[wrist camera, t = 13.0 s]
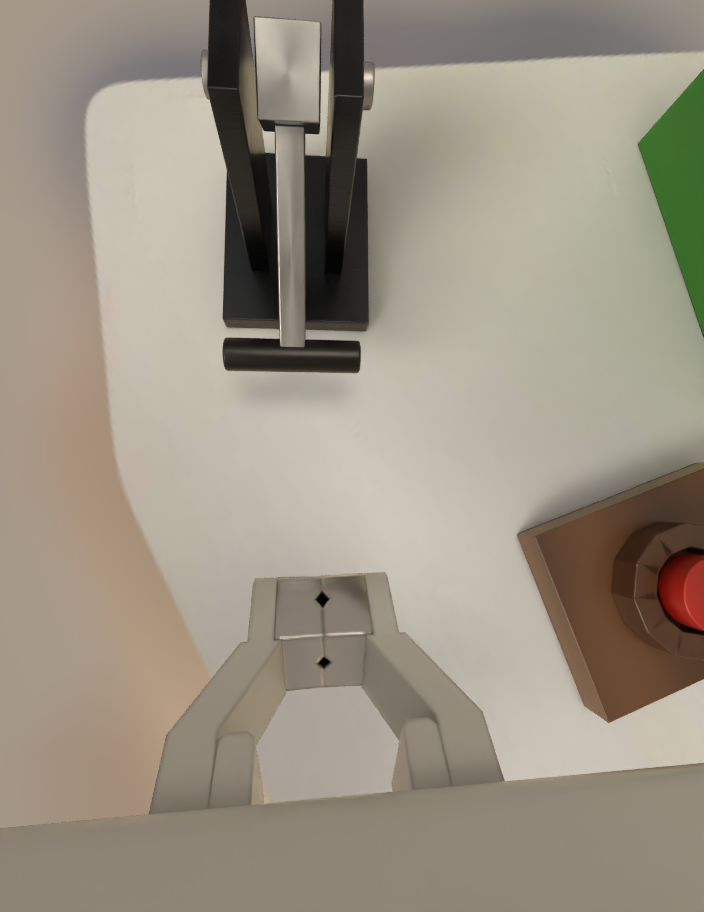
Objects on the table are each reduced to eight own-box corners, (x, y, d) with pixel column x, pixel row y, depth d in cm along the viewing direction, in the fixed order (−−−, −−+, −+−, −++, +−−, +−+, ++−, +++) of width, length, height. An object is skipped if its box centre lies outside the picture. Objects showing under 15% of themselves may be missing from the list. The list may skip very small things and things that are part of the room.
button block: (584, 706, 26) (632, 740, 23) (516, 534, 27) (551, 537, 23) (765, 624, 28) (840, 642, 24) (695, 463, 29) (757, 455, 25)
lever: (356, 365, 23) (361, 380, 21) (230, 363, 23) (221, 377, 21) (371, 49, 18) (378, 25, 16) (207, 36, 18) (193, 10, 15)
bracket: (366, 331, 28) (412, 181, 15) (226, 327, 27) (153, 167, 15) (364, 172, 29) (406, -89, 16) (230, 165, 28) (166, -114, 16)
